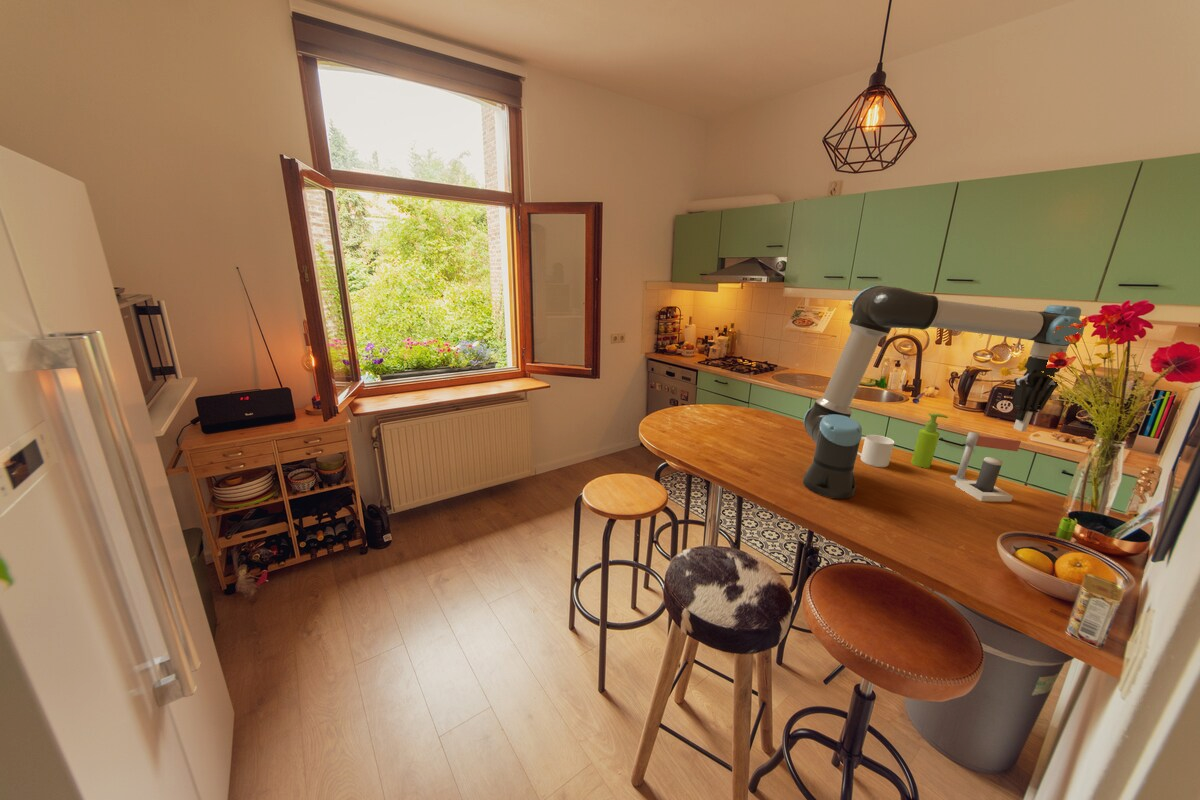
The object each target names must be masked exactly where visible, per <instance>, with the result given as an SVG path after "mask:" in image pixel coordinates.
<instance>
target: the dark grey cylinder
mask: <svg viewBox="0 0 1200 800" xmlns="http://www.w3.org/2000/svg"><path fill="white" fill-rule="evenodd" d="M1002 466H1003V461H1002V460H1000V459H998V458H995V457H989V456H986V457H984V459H983V460H982V464H981V467H980V469H979V473H978V475H977V479H976V481H977V482H976V485H975V488H977V489H979V490H980V491H982V492H992V491H993V489H994V486H996V483H997V479H998V477H999V474H1000V471H1001V468H1002Z"/></svg>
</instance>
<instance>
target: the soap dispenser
mask: <svg viewBox="0 0 1200 800" xmlns="http://www.w3.org/2000/svg"><path fill="white" fill-rule="evenodd" d="M928 416H929V417H930V419H929V420H928V421H926V423H925V426H924V428H920V429H919V432H918V436H917V439H916V442H915V446H914V450H913V452H912V453H913V454H912V457H911V461H910V463H911V464H912V465H913V466H916V467H918V468H922V467H923V469H928V468H929V469H930V467H931V466H932V462H933V458H934V455H935V451H936V447H937V446H938V445H937V444H938V442H939V439H940V438H939V437H940V433H939V432H937V429H938V426H939V423H938V422H937V418H945V419H948V418H949V417H948V416H947V415H945V414H941V413H935V412H934V413H933V412H932V413H931V412H930V413H928Z"/></svg>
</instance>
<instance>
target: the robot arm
mask: <svg viewBox="0 0 1200 800" xmlns="http://www.w3.org/2000/svg"><path fill="white" fill-rule="evenodd" d="M851 312H852V315H851V318H850V321H849V323H848V325H849V327H850V329H851V331H850V333H849V335H848V338H847V340H846V343H845V344H844V347H843V349H842V350H841V351H842V352H841V354H840V356H839V358H838V361H837V363H836V366H835V368H834V370H833V373H832V375H831V377H830V380H828V381H829V382H828V384H827V386H826V388H825V391H824V393H823V396H822V397H820V398H816V400H815V402H814V403H813V406H812V407H810V408H809V409H808V410H806V412H805V414H804V417H803V427H804V429H805V432H806V433H807V435H808V436H809V437H810V438H811V439H812V440H813V442H814V444H815V449H814V455H813V458H812V459H813V460H812V463H811V464H810V465H809V467H808V469H807V471H806V472H805V473H804V476H803V480H802V483H803V485H804V486H805V487H806V489H808V490H809V491H811V492H813V493H815V494H817V495H820V496H823V497H826V498H830V499H840V500H842V499H843V500H844V499H849V498H852V497H853V496H855V493H856V488H857V487H856V480H855V475H854V474H855V473H854V469H855V465H856V459H857V457H858V454H857V452H859V447H860V443H861V441H862V439H861V438H862V437H863V435H862V432H863V428H862V424H860V422H858V420H855V419H854V418H851V416H852V415H853V411H852V409H851V408H850V407H851V404H852V401H853V399H854V397H855V394H856V393H857V391H858V389H859V386H860V384H861V382H862V379H863V377H864V375H865V373H866V371H867V368H868V366H869V365H870V362H871V361H872V357H873V356H874V353H875V352H876V349H877V348H878V345H879V343H880V340H881V339H882V338H883V337H885V336H888V335H889V334H890V332H891V330H892V328H895V329H912V330H913V329H916V330H922V331H924V330H928V329H929V328H935V329H936V328H937V329H942V330H950V331H959V332H967V333H974V334H982V335H988V336H989V335H991V336H998V337H1004V338H1012V339H1019V340H1020V339H1021V340H1025V341H1026V340H1028V341H1033V343H1032V346H1031V348H1030V351H1029V355H1030V356H1028V358H1027V360H1026V364H1025V366H1024V367H1025V369H1026V371H1025V373H1024V374H1023V375H1022V377H1020V378H1017V377H1015V378H1014V380H1013V382H1014V394H1013V401H1012V402H1013V403H1012V406H1013V408H1015V409H1017V410H1018V411H1017V413H1016V416H1015V422H1014V424H1013V430H1014V429H1015V430H1017V431H1019V432H1022V433H1023V432H1025V433H1026V431H1027V430H1028V426H1029V423H1030V422H1031V421H1032V418H1033V416H1034V413H1039V412H1040V411H1041V410H1043V409H1044V407H1045V406H1046V404H1047V403H1048V401H1049V399H1050V397H1051V396H1052V395H1053V393H1054V391H1055V390H1056V389H1057V388H1058V387H1059V385H1058V384H1057V382H1055V381H1054V380H1053V379H1052V378H1050V377H1049V376H1047V375H1050V376H1053V377H1055V378H1056V373H1059V372H1060V370H1061V368H1058V369H1056V368H1046V365H1047V362H1048V358H1049V356H1050V354H1051V353H1052V352H1053V353H1057V352H1061V351H1063V352H1064V353H1065V355H1066V354H1067V352H1068V348H1069V345H1071V344H1072V343H1070V342H1069V341H1066V340H1065V338H1064V336H1065V337H1066V336H1069V335H1075V334H1076V333H1077V332H1078V333H1081V336H1083V335H1082V334H1083V333H1084V330H1085V326H1084V324H1083V326H1082V327H1081V329H1077V328H1075V327H1073V326H1071V327H1068V326H1070V325H1071V324H1073V323H1077V324H1081V323H1083V321H1082V320H1081V319H1080V318H1081V314H1082V309H1081V308H1080V307H1078V306H1073V305H1072V306H1071V305H1059V304H1058V305H1057V304H1056V305H1055V304H1053V305H1052V304H1050V305H1047V306H1046V307H1045V309H1044V310H1043V311H1036V310H1035V311H1033V310H1021V309H1014V308H1004V307H999V306H998V307H997V306H991V305H980V304H973V303H965V302H957V301H948V300H942V299H939V297H938V296H937V295H933V294H932V295H931V294H926V293H925V294H924V293H922V292H921V293H920V292H917V291H913V290H909V289H905V288H902V287H893V286H886V285H874V286H869V287H867V288H865V289H862V290H861V291H860V292H859V293H858V294H857V295H855V297H854V299H853V301H852V304H851ZM1057 326H1065V327H1058V328H1060V329H1059V330H1057V329H1056V327H1057ZM1055 330H1056V331H1055ZM1054 331H1055V333H1053V332H1054ZM1041 371H1044V373H1042V372H1041Z"/></svg>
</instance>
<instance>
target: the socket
mask: <svg viewBox="0 0 1200 800" xmlns="http://www.w3.org/2000/svg"><path fill="white" fill-rule="evenodd" d="M974 448H975V446H969V445H966V444H965V448H964V450H963V454H962V457H961V460H960V464H959V466H958V471H957V472H956V474H951V475H950V479H951V480H953V481H955V484H954V486H955V487H956V488H958V489H959V488H960V489H959V490H961V491H963V492H964V491H965V494H966V493H967V494H968V495H970V496H971V497H973V498H974V499H976V500H977V501H980V502H1006V503H1008V502H1012V500H1013V498H1014V495H1013V494H1010V493H1008V492H1006V491H1005V490H1003V489H1001V488H999V487H997V486H996V485H995V486H994V489H993V491H992V492H982V491H980V490H979V489H977V488H975V485H976V482H977V480H969V479H968V478H967V477H965V475H966V472H967V470H968V465H969V462H970V460H971V457H972V454H973V450H974Z"/></svg>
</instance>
